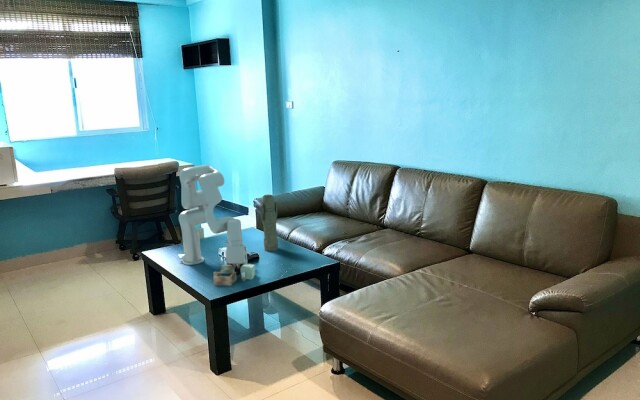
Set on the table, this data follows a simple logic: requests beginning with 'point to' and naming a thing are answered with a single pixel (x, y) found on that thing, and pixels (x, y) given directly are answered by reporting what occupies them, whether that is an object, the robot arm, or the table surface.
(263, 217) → the olive brown statue
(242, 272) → the goal posts
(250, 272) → the block
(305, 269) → the table surface
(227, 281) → the tunnel
